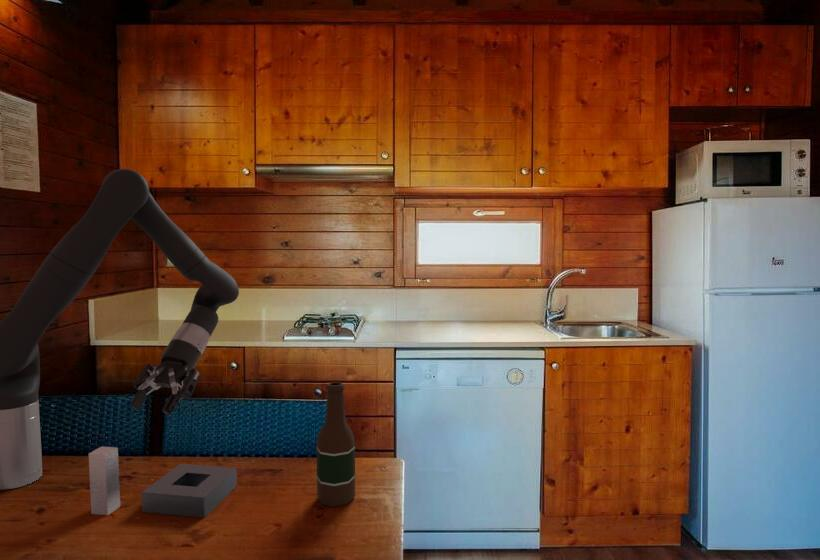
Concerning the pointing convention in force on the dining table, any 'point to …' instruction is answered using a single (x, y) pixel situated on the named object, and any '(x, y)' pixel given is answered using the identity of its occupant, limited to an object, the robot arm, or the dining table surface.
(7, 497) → the dining table surface
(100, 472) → the white rectangular block
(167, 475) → the collar block
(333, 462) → the beer bottle
